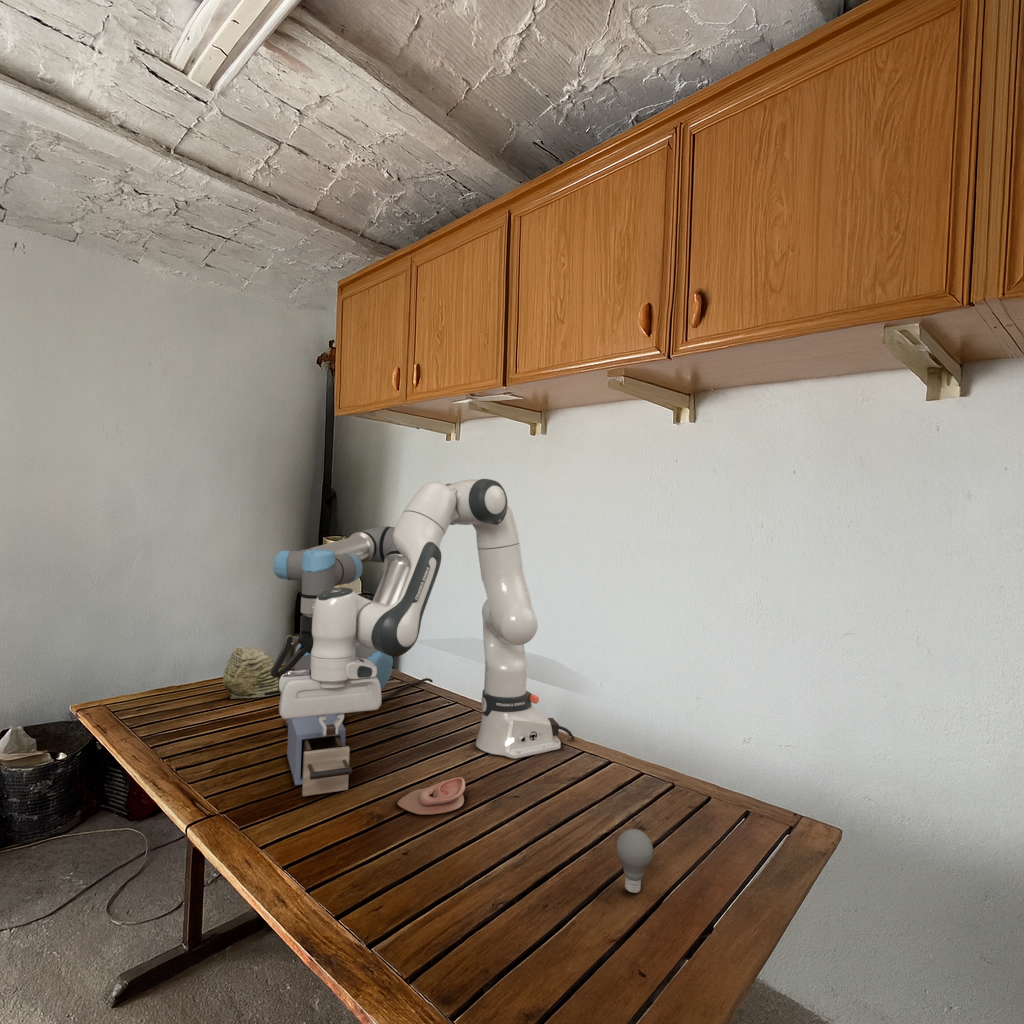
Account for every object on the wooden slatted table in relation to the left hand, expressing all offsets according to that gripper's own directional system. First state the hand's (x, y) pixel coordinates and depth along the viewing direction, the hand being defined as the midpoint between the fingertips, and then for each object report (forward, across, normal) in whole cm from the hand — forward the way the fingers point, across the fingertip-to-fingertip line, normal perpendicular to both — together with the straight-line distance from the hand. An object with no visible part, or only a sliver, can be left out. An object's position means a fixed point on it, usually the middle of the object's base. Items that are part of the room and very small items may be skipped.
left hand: (314, 701), depth 153 cm
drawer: (+13, 0, -17) cm, 21 cm away
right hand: (-1, 0, -24) cm, 24 cm away
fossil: (+14, -10, +55) cm, 57 cm away
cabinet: (+14, 0, -5) cm, 15 cm away
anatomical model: (+14, +20, -31) cm, 40 cm away
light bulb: (+13, +42, -72) cm, 84 cm away
